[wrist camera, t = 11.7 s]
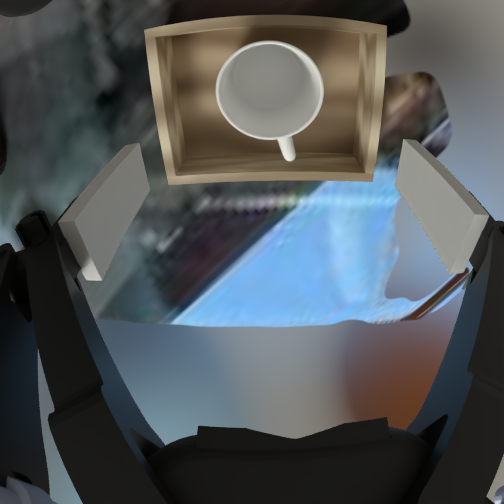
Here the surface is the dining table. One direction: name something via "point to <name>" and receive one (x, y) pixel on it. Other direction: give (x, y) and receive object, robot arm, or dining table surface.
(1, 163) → the container
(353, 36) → the wooden tray
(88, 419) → the robot arm
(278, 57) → the cup
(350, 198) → the dining table surface
